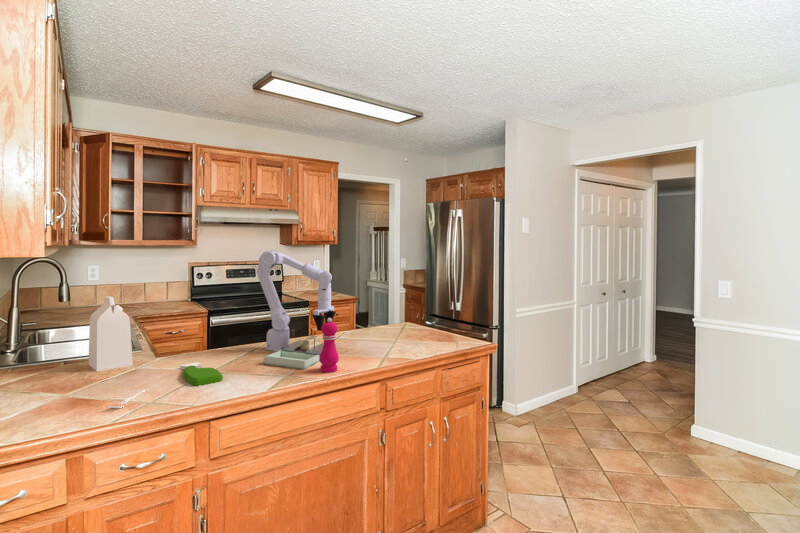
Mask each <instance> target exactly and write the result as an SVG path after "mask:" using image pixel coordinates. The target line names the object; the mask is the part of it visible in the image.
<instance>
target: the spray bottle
mask: <svg viewBox="0 0 800 533" xmlns="http://www.w3.org/2000/svg"><path fill="white" fill-rule="evenodd" d="M179 369H180V370H183V372H182V373H183V374H182V376H183V378H184V380H185V381H186V382H188V383H189V384H190V385H192V386H194V387H200V386H199V385H201V386H205V384H206V385H211V383H212V384H215V383H216V382H217V383H220V381H221V382H222V381H223V380H224V376H223V373H221V372H220V371H219V370H218V369H217V368H215V367H203V365H201V362H192V363H186V364H181V365H179Z"/></svg>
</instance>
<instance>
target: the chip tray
mask: <svg viewBox="0 0 800 533" xmlns="http://www.w3.org/2000/svg"><path fill="white" fill-rule="evenodd" d="M317 363H320V361H319V355H313V354H304V353H296V352H288V351H281V350H280V351H274V352H272V353H270V354H268V355H264V356H263V364H264V365H270V366H277V367H285V368H290V369H300V370H306V369H308V368H309V367H312V366H313V365H315V364H317Z"/></svg>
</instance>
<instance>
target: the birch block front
mask: <svg viewBox="0 0 800 533" xmlns="http://www.w3.org/2000/svg"><path fill="white" fill-rule="evenodd" d="M300 340H301V349H302V350H308V349H310V348H312V347H314V339H311V338H307V337H305V338H303V339H300Z"/></svg>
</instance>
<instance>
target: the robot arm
mask: <svg viewBox="0 0 800 533" xmlns="http://www.w3.org/2000/svg"><path fill="white" fill-rule="evenodd" d="M279 264H284V265H287V266H289V267H291V268H294V269H297V270H299V271H301V274H302V276H305V277H306V278H308V279H310V280H313V281H315V282H316V281H317V282H318V289H317V308H316V309H315V310H313V313H312V318H313V320H314V322H315V325H316V330H317V331H318V332H319V331H321V328H322V325H323V324H324V323H326V322H328V321H327V319H328V318H331V319H332V321H333V320H334V317H335V315H336V310H335V305H332V279H333V278H332V277H333V276H332V273H331V272H329V271H328V270H324V268H320V267H318V266H315V264H314V263H312V262H311V263H309V262H308V263H305V264H304V263H303V262H300V261H299V260H297V259H295V258H292V257H291V256H289V255H287V254H284V253H281V252H278V251H276V250H266V251H264V252H262V253H261V255H260V256H259V258H258V266H257V270H256V275H257V277H258V280H259V283H260V286H261V288H262V291H263V294H264V296H265V299H266V302H267V305H268V307H269V309H270V318H271V326H272V328H270V329H268V331H267V332H266V343H265V344H266V348H265V350H266V351H273V352H277V351H280V350H281V347H283V346H286V345H288V344H290V327H289V324H290V322H291V318H290V316H289V314H287V312H286V310H285V308H284V307H283V306H282V302H281V301H280V298H279V295H278V293H277V290H276V287H275V284H274V282H273V278H272V276H271V272H272V270H273V268H274V267H275V265H279ZM321 332H322V331H321Z"/></svg>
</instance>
